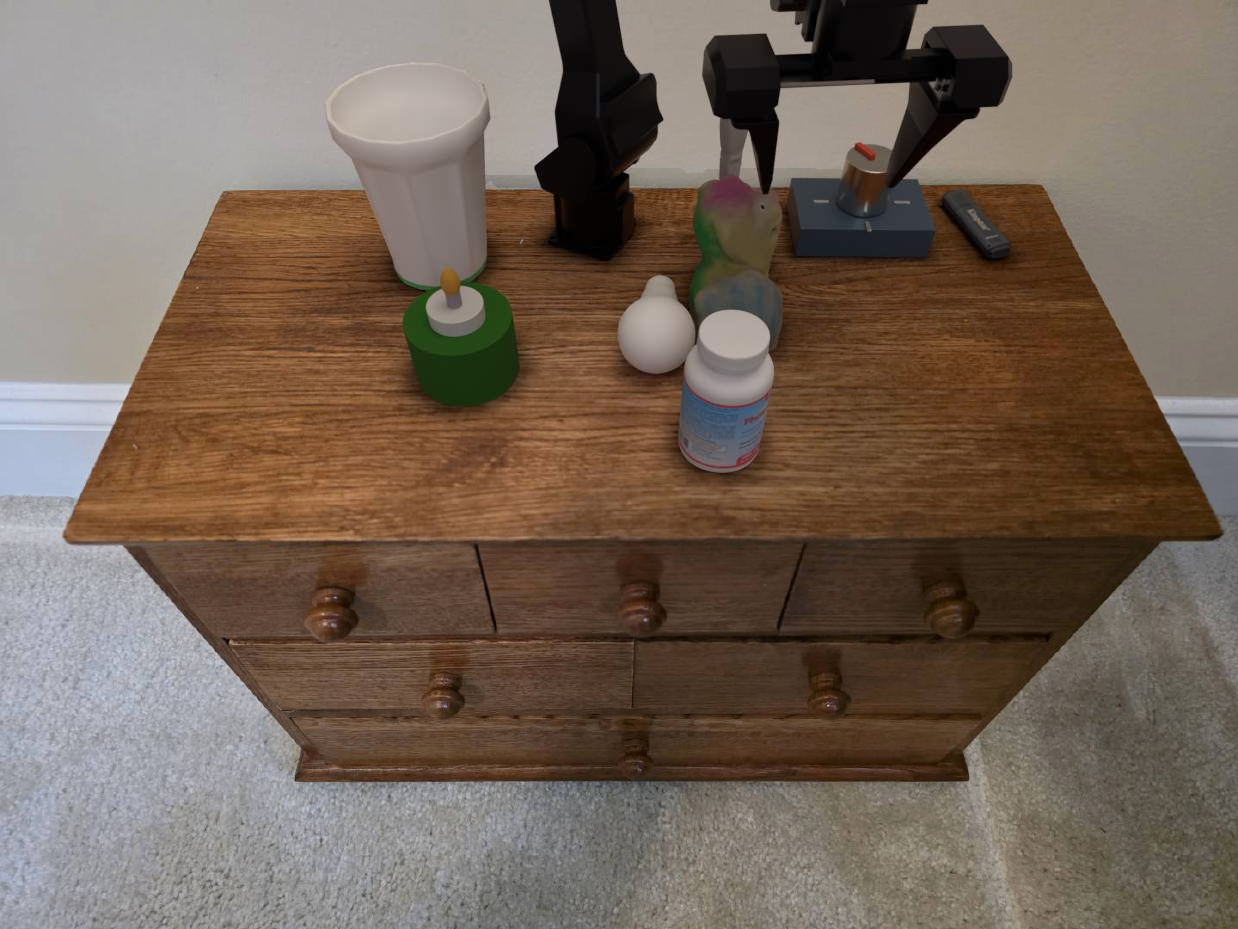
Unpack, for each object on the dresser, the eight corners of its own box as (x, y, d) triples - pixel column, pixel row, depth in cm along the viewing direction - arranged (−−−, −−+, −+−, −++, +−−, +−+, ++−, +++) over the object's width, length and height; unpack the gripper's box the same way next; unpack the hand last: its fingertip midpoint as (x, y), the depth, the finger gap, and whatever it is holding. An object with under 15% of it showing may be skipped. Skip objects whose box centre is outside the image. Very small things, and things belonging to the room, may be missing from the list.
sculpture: (795, 365, 66) (818, 265, 58) (691, 369, 65) (700, 270, 58) (765, 252, 75) (782, 153, 67) (674, 255, 74) (680, 156, 67)
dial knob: (897, 208, 74) (912, 160, 70) (857, 223, 72) (870, 174, 69) (864, 182, 76) (877, 135, 72) (825, 196, 75) (836, 148, 71)
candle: (476, 421, 62) (455, 323, 54) (395, 380, 65) (364, 281, 57) (539, 357, 66) (528, 257, 58) (461, 320, 69) (440, 221, 61)
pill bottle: (754, 482, 58) (778, 373, 50) (671, 469, 59) (680, 359, 50) (762, 420, 62) (786, 308, 53) (684, 408, 63) (694, 295, 54)
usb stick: (936, 203, 79) (941, 189, 78) (961, 199, 80) (966, 185, 79) (985, 262, 74) (991, 248, 72) (1011, 258, 74) (1017, 244, 73)
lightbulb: (703, 306, 70) (702, 381, 62) (636, 320, 72) (626, 395, 64) (687, 243, 67) (684, 314, 59) (616, 260, 68) (604, 331, 60)
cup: (529, 282, 72) (511, 119, 60) (394, 323, 69) (346, 159, 57) (482, 208, 79) (457, 48, 67) (357, 242, 76) (307, 80, 64)
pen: (718, 242, 76) (734, 96, 65) (702, 227, 77) (716, 82, 66) (740, 234, 76) (760, 89, 65) (724, 219, 78) (741, 75, 67)
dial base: (795, 258, 74) (801, 229, 72) (785, 202, 80) (791, 173, 77) (927, 260, 74) (937, 231, 71) (908, 203, 79) (917, 174, 77)
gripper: (989, -108, 52) (918, 123, 64) (699, -99, 51) (684, 134, 63) (1061, -38, 45) (967, 206, 57) (728, -25, 44) (705, 220, 56)
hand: (826, 187), depth 59 cm, fingers open, 9 cm apart
